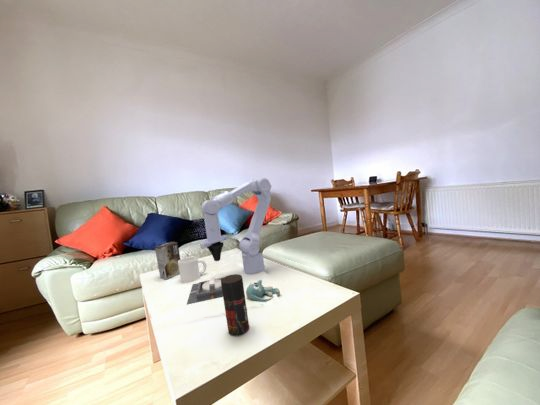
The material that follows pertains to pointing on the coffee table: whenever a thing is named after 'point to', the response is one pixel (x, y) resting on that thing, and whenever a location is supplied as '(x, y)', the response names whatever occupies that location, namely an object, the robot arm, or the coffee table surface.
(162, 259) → the coffee box
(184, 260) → the mug
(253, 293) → the stuffed animal
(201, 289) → the panel
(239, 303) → the deodorant
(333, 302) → the coffee table surface
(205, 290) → the dial
